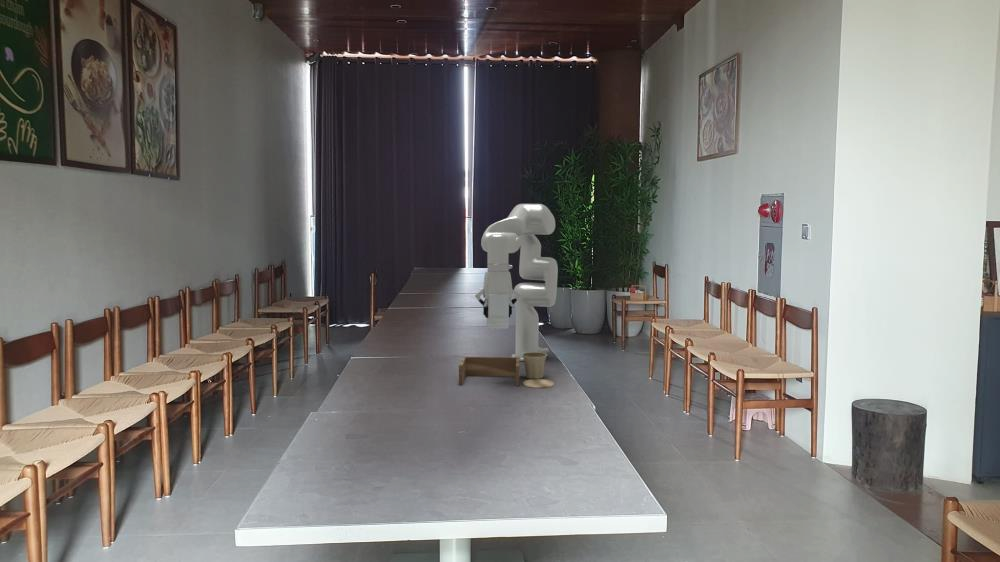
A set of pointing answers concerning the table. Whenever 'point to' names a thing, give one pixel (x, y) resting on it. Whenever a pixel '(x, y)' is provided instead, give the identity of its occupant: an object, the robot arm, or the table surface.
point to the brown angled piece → (489, 367)
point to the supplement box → (498, 311)
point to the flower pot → (534, 364)
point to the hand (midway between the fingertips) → (497, 316)
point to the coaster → (538, 383)
